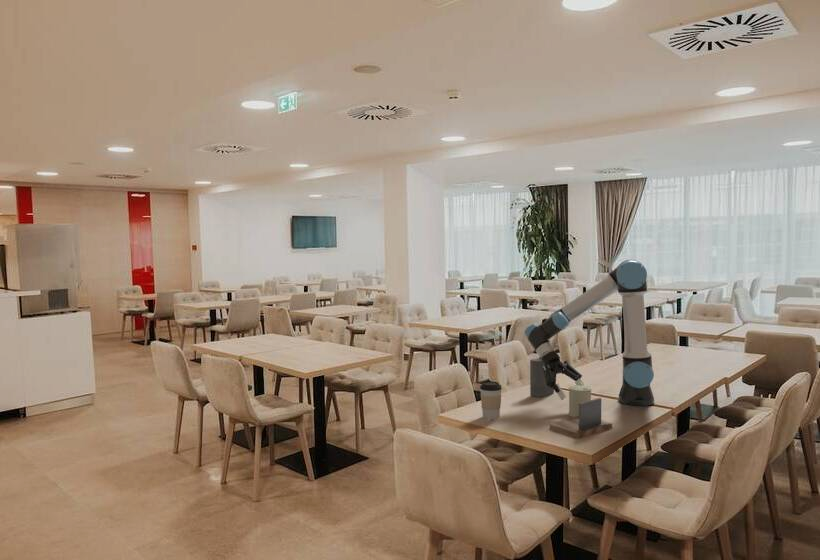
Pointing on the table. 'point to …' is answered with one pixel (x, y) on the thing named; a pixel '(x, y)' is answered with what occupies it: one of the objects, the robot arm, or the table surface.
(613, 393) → the table surface
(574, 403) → the can
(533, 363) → the flask
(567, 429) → the shelf board
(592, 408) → the bookend
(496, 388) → the coffee cup
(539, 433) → the table surface
